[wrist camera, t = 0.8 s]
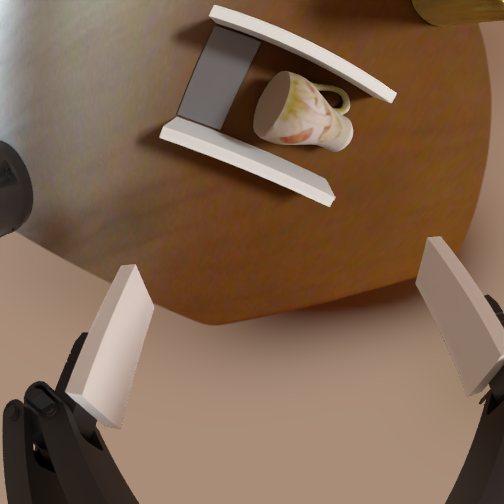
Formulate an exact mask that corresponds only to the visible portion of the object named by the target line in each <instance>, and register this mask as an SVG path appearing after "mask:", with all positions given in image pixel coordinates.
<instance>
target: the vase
mask: <svg viewBox="0 0 504 504" xmlns="http://www.w3.org/2000/svg"><path fill="white" fill-rule="evenodd" d="M412 3H413V6H414V8H415V10H416V11H417V13H418V14H419V15H420V16H421V17H422V18H423V19H424V20H425V21H426V22H428V23H430V24H432V25H434V26H438V27H444V26H447V25H455V24H465V23H480V22H491V21H504V0H412Z"/></svg>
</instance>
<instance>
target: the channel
mask: <svg viewBox="0 0 504 504" xmlns="http://www.w3.org/2000/svg"><path fill="white" fill-rule="evenodd" d="M209 17H210V18H211V19H212V20H214V21H215V22H216V23H217V24H220V25H223V26H226V27H229V28H232V29H235V30H238V31H241V32H243V33H246V34H249V35H251V36H254V37H257V38H259V39H262V40H264V41H267V42H269V43H272V44H274V45H276V46H279V47H281V48H283V49H285V50H288V51H290V52H292V53H294V54H296V55H299V56H301V57H303V58H305V59H307V60H309V61H311V62H313V63H315V64H317V65H319V66H321V67H323V68H325V69H326V70H328V71H330V72H332V73H334V74H336V75H337V76H339V77H341V78H343V79H345V80H346V81H348V82H350V83H351V84H353V85H355V86H356V87H358V88H360V89H361V90H363V91H365V92H366V93H368V94H369V95H371V96H373V97H375V98H378V99H381V100H384V101H386V102H389V103H392V101H393V99H394V98H395V96H396V94H397V93H396V92H394V91H393V90H391V89H390V88H388V87H387V86H386V85H384V84H383V83H381V82H380V81H378V80H376V79H375V78H373V77H372V76H370V75H369V74H367V73H366V72H364V71H362V70H361V69H359V68H357V67H356V66H354V65H352V64H351V63H349V62H347V61H345V60H344V59H342V58H340V57H338V56H337V55H335V54H333V53H331V52H329V51H327V50H325V49H323V48H321V47H320V46H318V45H316V44H314V43H312V42H310V41H307V40H305V39H303V38H301V37H299V36H297V35H295V34H292V33H290V32H288V31H286V30H283V29H281V28H279V27H276V26H274V25H271V24H269V23H266V22H264V21H261V20H259V19H256V18H253V17H251V16H248V15H245V14H242V13H239V12H236V11H233V10H230V9H227V8H224V7H220V6H217V5H214V6H213V8H212V10H211V12H210V14H209ZM260 44H261V42H260V41H257V40H255V39H252V38H250V37H247V36H244V35H241V34H239V33H236V32H233V31H230V30H227V29H224V28H221V27H218V26H215V27H214V29H213V31H212V33H211V35H210V37H209V39H208V41H207V44H206V46H205V48H204V50H203V52H202V55H201V57H200V59H199V61H198V64H197V66H196V68H195V71H194V73H193V76H192V78H191V80H190V83H189V85H188V88H187V90H186V93H185V95H184V98H183V101H182V103H181V106H180V108H179V111H178V114H177V115H180V116H183V117H185V118H188V119H191V120H194V121H197V122H199V123H202V124H205V125H208V126H210V127H213V128H216V129H218V130H221V127H222V125H223V123H224V121H225V118H226V116H227V114H228V111H229V109H230V107H231V105H232V102H233V100H234V98H235V96H236V94H237V91H238V89H239V87H240V85H241V83H242V81H243V79H244V77H245V74H246V72H247V70H248V68H249V66H250V64H251V62H252V60H253V58H254V56H255V54H256V52H257V50H258V48H259V46H260ZM159 138H161V139H164V140H167V141H170V142H173V143H176V144H179V145H181V146H184V147H187V148H190V149H192V150H195V151H198V152H200V153H203V154H206V155H208V156H211V157H214V158H216V159H219V160H221V161H224V162H226V163H229V164H231V165H234V166H236V167H239V168H241V169H244V170H246V171H249V172H251V173H254V174H256V175H258V176H261V177H263V178H265V179H268V180H270V181H272V182H275V183H277V184H279V185H282V186H284V187H286V188H289V189H291V190H293V191H295V192H298V193H300V194H302V195H304V196H306V197H309V198H311V199H313V200H315V201H317V202H319V203H322V204H324V205H326V206H328V207H330V205H331V204H332V202H333V201H334V199H335V196H334V194H333V192H332V190H331V188H330V186H329V184H328V182H327V181H326V179H325V178H323V177H320V176H318V175H316V174H314V173H312V172H310V171H308V170H306V169H304V168H302V167H300V166H297V165H295V164H293V163H291V162H289V161H287V160H284V159H282V158H280V157H278V156H275V155H273V154H271V153H269V152H266V151H264V150H262V149H259V148H257V147H255V146H252V145H250V144H247V143H245V142H242V141H240V140H238V139H235V138H233V137H230V136H228V135H225V134H222V133H220V132H217V131H215V130H212V129H209V128H207V127H204V126H201V125H198V124H196V123H193V122H190V121H187V120H184V119H182V118H179V117H176V118H174V119H173V120H171V121H170V122H169V123H167V124H166V125H164V126H163V128H162V131H161V134H160V137H159Z"/></svg>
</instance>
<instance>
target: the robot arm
mask: <svg viewBox="0 0 504 504" xmlns="http://www.w3.org/2000/svg"><path fill="white" fill-rule="evenodd" d="M32 204H33V192H32V185H31V181H30V177H29V174H28V171H27V169H26V167H25V164H24V163H23V161H22V159H21V157H20V156H19V155H18V153H17V152H16V151H15V150H14V149H13V148H12V147H11V146H10V145H9V144H7V143H5V142H3V141H0V237H2V236H4V235H6V234H9V233H12V232H14V231H16V230H17V229H18V228H19V227H20V226H21V225H22V224H23V223H24V222H25V221H26V220H27V219H28V217H29V215H30V213H31V210H32ZM415 284H416V286H417V287H418V289H419V291H420V293H421V295H422V297H423V299H424V301H425V303H426V304H427V306H428V308H429V310H430V312H431V314H432V316H433V318H434V320H435V323H436V324H437V327H438V329H439V331H440V333H441V335H442V337H443V339H444V342H445V344H446V346H447V348H448V350H449V353H450V355H451V357H452V360H453V362H454V364H455V367H456V369H457V372H458V374H459V376H460V379H461V382H462V384H463V387H464V389H465V392H466V394H467V397H469V396H472V395H474V394H477V393H479V392H481V391H482V390H483V389H484V388H485V387H486V386H487V384H489V386H490V388H491V389H490V390H489V391H488V392H487V394H486V395H485V396H484V397H483V398H482V399H481V400H480V402H479V404H482V403H483V402H484V401H485V400H486V402H485V404H484V409H483V412H482V416H481V419H480V422H479V425H478V428H477V431H476V434H475V437H474V440H473V442H472V445H471V448H470V450H469V453H468V455H467V458H466V460H465V463H464V466H463V467H462V470H461V472H460V474H459V476H458V479H457V481H456V483H455V485H454V487H453V489H452V491H451V493H450V495H449V497H448V499H447V501H446V503H445V504H504V314H503V311H502V309H501V308H500V306H499V305H498V303H497V302H496V301H495V300H494V299H492V297H490V296H489V295H485V296H484V295H483V294H482V292H481V291H480V289H479V288H478V286H477V285H476V283H475V282H474V281H473V279H472V278H471V276H470V275H469V273H468V272H467V271H466V269H465V268H464V267H463V265H462V264H461V262H460V261H459V260H458V258H457V257H456V256H455V254H454V253H453V252H452V250H451V249H450V248H449V246H448V245H447V244H446V243H445V241H444V240H443V239H442V238H441V236H439V237H428V238H427V241H426V246H425V250H424V254H423V258H422V262H421V265H420V269H419V273H418V276H417V280H416V283H415ZM153 311H154V305H153V303H152V301H151V298H150V296H149V294H148V292H147V290H146V287H145V285H144V283H143V280H142V278H141V276H140V273H139V271H138V269H137V266H136V264H132V265H121V267H120V269H119V271H118V273H117V275H116V277H115V279H114V281H113V283H112V284H111V286H110V289H109V291H108V293H107V295H106V297H105V299H104V301H103V303H102V305H101V307H100V309H99V311H98V314H97V316H96V318H95V320H94V322H93V324H92V327H91V329H90V331H89V333H85V332H84V333H82V334H81V335H80V337H79V338H78V339H77V340H76V341H75V343H74V345H73V348H72V350H71V354H69V357H68V359H67V362H66V364H65V366H64V369H63V371H62V374H61V376H60V379H59V381H58V384H57V386H56V389H55V391H54V390H53V389H52V388H51V387H50V386H49V385H48V384H46V383H45V382H42V381H38V382H35V383H33V384H32V385H31V386H29V388H28V389H27V391H26V392H25V396H24V404H23V403H22V402H21V401H19V400H17V399H14V400H12V401H10V402H9V403H8V404H7V405H6V407H5V409H4V412H3V461H4V475H5V484H6V492H7V500H8V504H139V502H138V501H137V499H136V498H135V496H134V495H133V493H132V492H131V490H130V488H129V486H128V485H127V483H126V481H125V480H124V478H123V476H122V475H121V473H120V471H119V469H118V467H117V466H116V464H115V462H114V460H113V458H112V456H111V454H110V452H109V450H108V448H107V446H106V444H105V442H104V440H103V438H102V436H101V434H100V432H99V430H98V429H97V427H96V422H97V421H99V422H100V423H101V424H102V425H104V426H106V427H111V428H117V429H121V425H122V421H123V416H124V413H125V409H126V405H127V401H128V397H129V393H130V389H131V385H132V382H133V378H134V374H135V371H136V367H137V364H138V360H139V356H140V353H141V349H142V346H143V343H144V339H145V336H146V333H147V330H148V326H149V323H150V320H151V317H152V314H153ZM33 444H34V445H35V451H34V450H33Z"/></svg>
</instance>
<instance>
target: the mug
mask: <svg viewBox="0 0 504 504" xmlns="http://www.w3.org/2000/svg"><path fill="white" fill-rule="evenodd" d="M319 91H333V92H335V93H338V94H339V95H340V96H341V97H342V99H343V104H342V107H341V108H339V109H337V108H332V107H331V106H330V105H329V104H328V102H327V101H326V100H325V99H324V97H323V96H322V95H321V94H320V92H319ZM349 108H350V100H349V97H348V95H347V93H346V92H345V91H344V90H343V89H341V88H339V87H336V86H333V85H323V84H316V83H312V82H309V81H308V80H307V79H305V78H304V77H302V76H300V75H298V74H295V73H292V72H288V71H281V72H279V73H278V74H277V75H276V76H274V77H273V78H272V80H271V81H270V82H269V83H268V85H267V86H266V88H265V90H264V91H263V93H262V95H261V97H260V99H259V100H258V103H257V106H256V109H255V114H254V121H253V129H254V132H255V133H256V134H257V135H258V136H259V137H260V138H262V139H264V140H266V141H269V142H271V143H274V144H280V145H307V144H313V145H318V146H321V147H324V148H326V149H328V150H330V151H333V152H337V151H340V150H342V149H344V148H345V147H346V146H347V145H348V144H349V143H350V141H351V139H352V136H353V128H352V124H351V121H350V120H349V119H348V118H346V117H344V116H343V114H345V113H346V112H348V110H349Z"/></svg>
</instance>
